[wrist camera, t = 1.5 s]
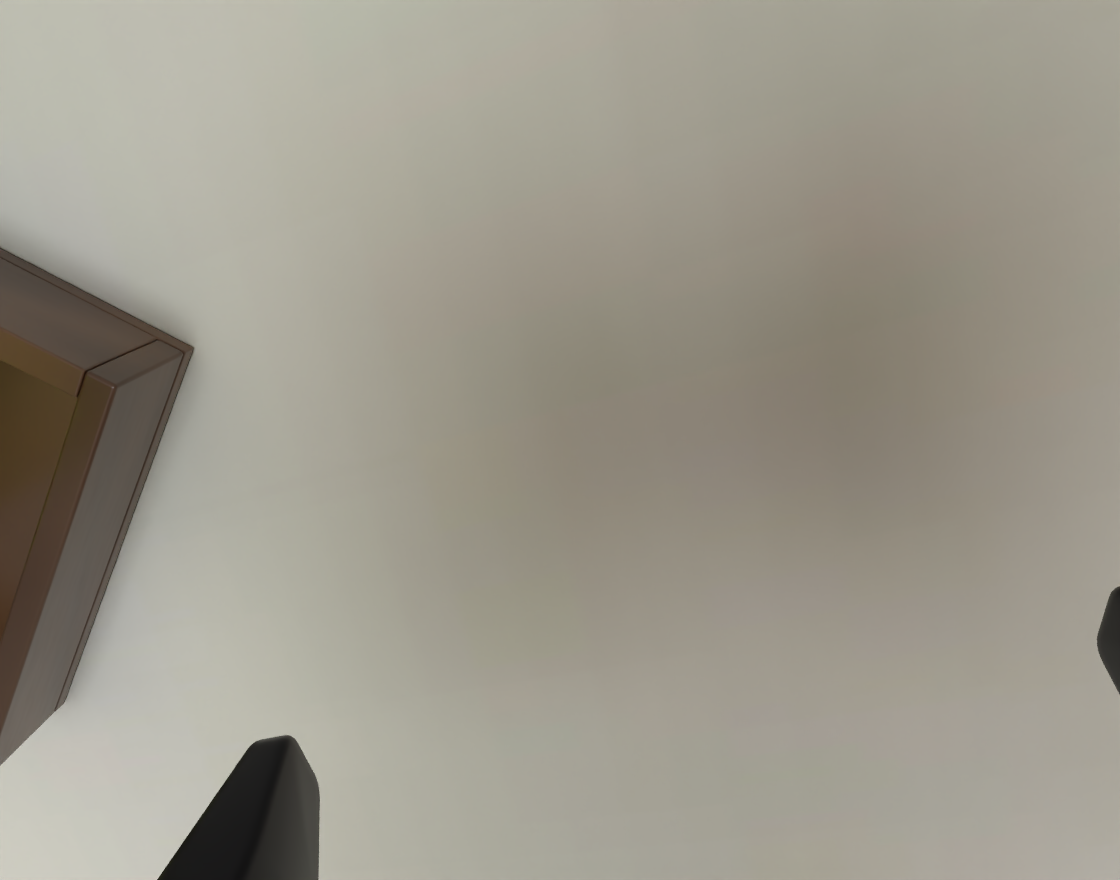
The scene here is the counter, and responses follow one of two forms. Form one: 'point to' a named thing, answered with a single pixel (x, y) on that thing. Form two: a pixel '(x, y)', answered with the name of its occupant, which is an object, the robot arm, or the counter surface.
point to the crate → (67, 473)
